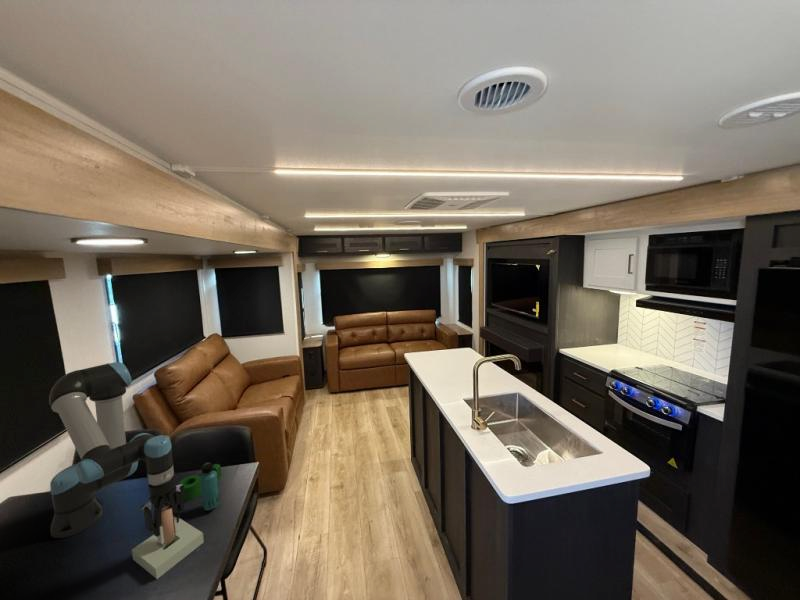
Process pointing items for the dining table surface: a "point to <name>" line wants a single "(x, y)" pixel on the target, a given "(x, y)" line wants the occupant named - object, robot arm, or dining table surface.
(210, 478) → the beverage bottle
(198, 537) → the socket board
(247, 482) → the dining table surface
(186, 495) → the slotted cylinder bracket
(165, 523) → the peg
